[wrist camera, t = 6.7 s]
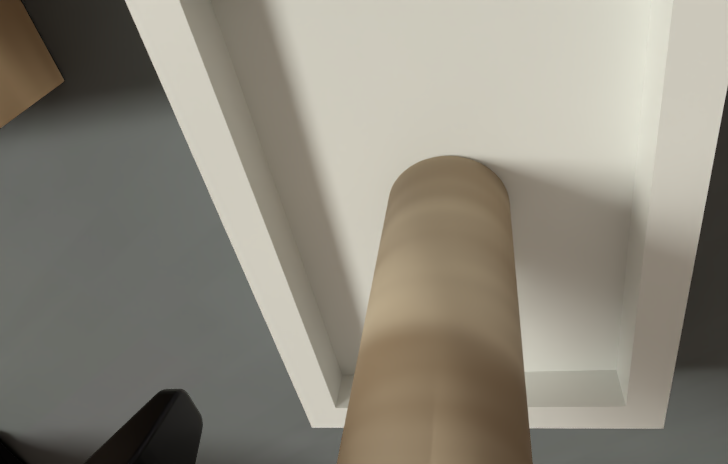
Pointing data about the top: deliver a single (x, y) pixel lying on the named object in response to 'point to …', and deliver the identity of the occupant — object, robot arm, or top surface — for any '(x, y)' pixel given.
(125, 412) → the top surface
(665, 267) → the tray
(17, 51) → the holder
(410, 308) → the dowel
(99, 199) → the top surface
